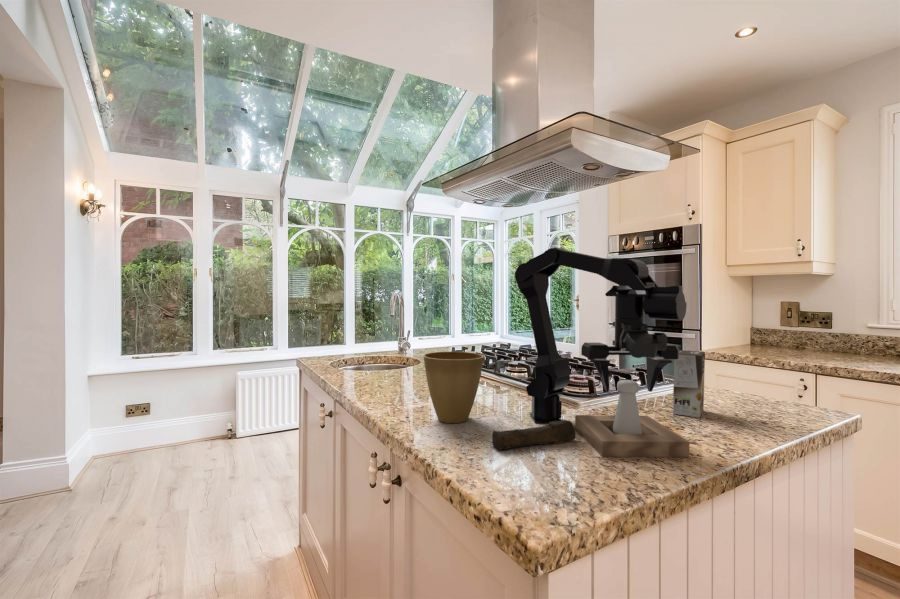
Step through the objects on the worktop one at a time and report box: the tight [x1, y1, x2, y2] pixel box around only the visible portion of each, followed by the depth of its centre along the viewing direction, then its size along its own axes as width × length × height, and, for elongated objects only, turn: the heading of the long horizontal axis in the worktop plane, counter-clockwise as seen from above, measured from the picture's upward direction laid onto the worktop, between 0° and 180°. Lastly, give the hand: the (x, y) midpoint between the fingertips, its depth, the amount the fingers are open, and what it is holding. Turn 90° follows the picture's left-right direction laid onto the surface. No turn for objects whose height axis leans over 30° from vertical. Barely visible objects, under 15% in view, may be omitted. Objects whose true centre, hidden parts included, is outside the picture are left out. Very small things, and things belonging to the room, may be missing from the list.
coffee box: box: [672, 349, 706, 419], centre depth 112 cm, size 9×6×16 cm
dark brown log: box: [491, 419, 576, 452], centre depth 88 cm, size 19×4×5 cm, turn 106°
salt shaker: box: [613, 379, 642, 435], centre depth 90 cm, size 6×6×13 cm
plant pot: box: [423, 351, 485, 424], centre depth 105 cm, size 15×15×16 cm
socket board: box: [574, 414, 691, 458], centre depth 90 cm, size 17×17×3 cm
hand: (628, 391), depth 90 cm, fingers open, 9 cm apart
